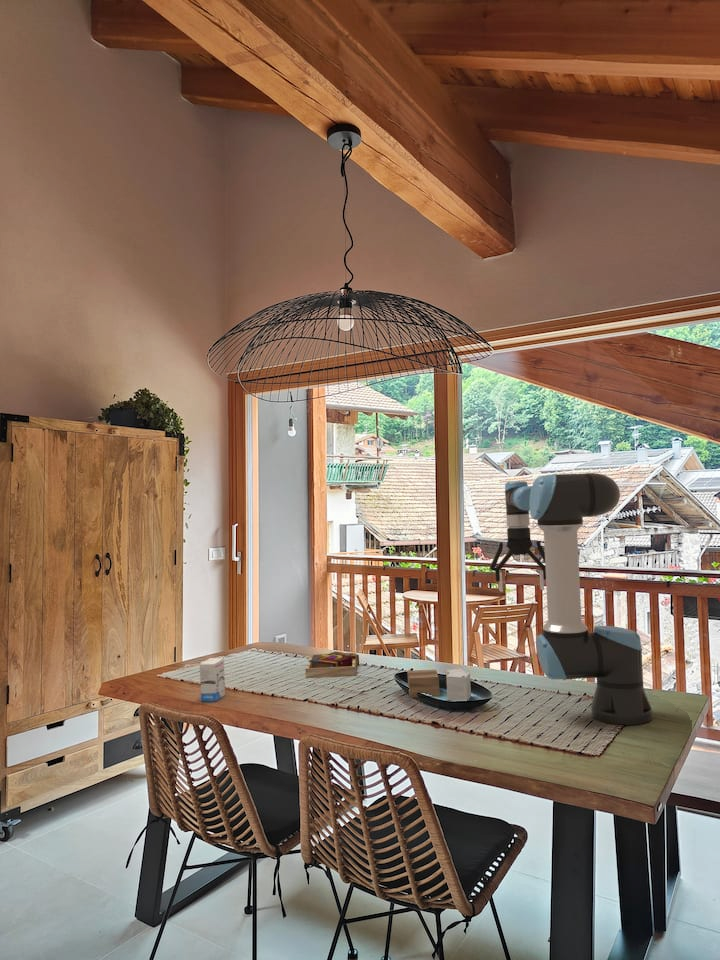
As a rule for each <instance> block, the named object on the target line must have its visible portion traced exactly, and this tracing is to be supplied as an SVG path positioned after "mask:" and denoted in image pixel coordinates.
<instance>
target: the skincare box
mask: <svg viewBox="0 0 720 960" xmlns="http://www.w3.org/2000/svg"><path fill="white" fill-rule="evenodd" d="M445 677H446V676H445ZM446 678H447V680H446V697H447V701H448V700H454V701H453V702H456V701H457V700H468V701H469V700H470V699H471V696H472V691H471V688H472V687H471V672H468V671H466V672H450V673H449V674H448V675H447V677H446ZM455 700H456V701H455Z"/></svg>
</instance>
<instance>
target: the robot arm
mask: <svg viewBox="0 0 720 960" xmlns="http://www.w3.org/2000/svg"><path fill="white" fill-rule="evenodd" d="M504 495H505V510H506V526H507V529H506V531H507V536H506V537H507V542H501V541H499V542H498V545H497V550H496V552H495V555H494V557H493V559H492V561H491V563H490V565H489V569H490V570H491V571H493V572H495V580H496V582H498V585H499V588H498V589H499V592H501V593H503V592H504V588H503V587H504V586H503V584H504V583H503V573H502V571H501V570H502V569H503V567H504V566H505V565H506V563H507V562H508V560H509V559H510V558H511V557H512V556H513V555H514V556H519V555H522V556H524V555H528V556H529V557H530V558H531V559H532V560H533V561H534V563H536V564H537V566H539V568H541V569H539V572H538V573H539V589H540V590H541V591H545V590H546V604H547V605H546V606H547V608H546V609H547V622H545V624H544V625H543V626H542V634H538V635H537V636H536V637H535V638H536V639H535V647H536V648H535V649H536V653H537V657H538V661H539V664H540V667H541V669H542V670H541V671H542V672H543V673H544V675H545V676H546V677H547V678H548V679H549V680H563V681H566V680H578V679H579V680H581V679H583V680H584V679H596V687H595V688H596V689H595V691H594V694H593V699H592V702H591V704H590V705H591V706H590V709H591V710H590V711H591V714H590V715H591V716H592V718H594V719H596V720H598V721H601V722H604V723H608V724H612V725H621V726H622V725H623V726H633V725H642V724H643V725H644V724H647V723H649V722H651V721H652V720H653V710H652V707H651V704H650V701H649V698H648V696H647V693H646V691H645V688H644V673H643V654H642V653H643V652H642V651H643V648H642V644H641V643H642V641H641V637H640V635H639V633H638V632H636V631H634V630H632V629H628V628H625V627H620V626H618V627H617V626H613V625H612V626H611V625H595V626H594V627H593V629H592V632H589V627H588V626H587V625H586V624H585V623H584V622H583V621H582V603H581V601H582V599H581V585H580V583H581V581H580V563H579V562H580V561H579V545H578V544H579V540H578V538H579V537H578V530H579V529H580V528H582V526H584V521H583V520H584V519H583V518H589V517H590V518H593V517H597V516H602V515H605V514H608V513H610V512H611V511H613V510H614V509H615V507H617V505H618V504H619V501H620V498H621V497H620V496H621V492H620V488H619V486H618V484H617V483H616V481H614V479H612V478H611V477H609V476H607V475H605V474H601V473H596V472H595V473H594V472H584V473H566V474H565V473H563V474H561V473H559V474H555V473H552V474H547V475H540V476H538V477H536V478H535V480H534V481H533V483H532V485H531V486H530V485H529V484H528V482H527V481H525V480H521V481H518V480H517V481H516V480H515V481H507V482H506V483H505V484H504ZM530 517H531V519H533V520H535V521H536V523H537V527H538V528H539V529H540V530H542V531H543V541H544V542H543V543H544V550H543V547H542V544H541V541H540V540H534V541H531V528H530V525H531V522H530ZM532 547H533V548H536V549H537V552H538V554H539V555H540V557H541V558H542V561H544V564H545V565H544V564H543V562H542V561H541V560H540V559H539V558H538V557H537V556H536V555H535V554H534V553H533V552H532V551H531V548H532ZM506 548H507V549H508V551H507V552H506V554H505V555H504V557H503V558H502V559H501V560H500V562H499V563H498V561H499V558H500V557H501V554H502V552H503V550H504V549H506ZM497 563H498V565H497ZM496 565H497V566H496ZM545 585H546V589H545Z"/></svg>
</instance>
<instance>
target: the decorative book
mask: <svg viewBox="0 0 720 960" xmlns="http://www.w3.org/2000/svg"><path fill="white" fill-rule="evenodd" d="M348 653H349V652H341V651H332V652H330V653H327V654H328V655H322V656H321V657H319V658H315V659H311V660H310V662H312V668H325V667H348V666H352V662H353V659H355V658H356V667H358V666H360V657H359V654H357V653H356V654H348Z"/></svg>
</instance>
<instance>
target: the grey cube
mask: <svg viewBox="0 0 720 960" xmlns="http://www.w3.org/2000/svg"><path fill="white" fill-rule="evenodd" d="M450 672H467V671H466V670H464V669H462V668H454V669H446V670H445V675H446V676H445V677H447V675H448V674H449V673H450ZM446 681H447V678H446Z"/></svg>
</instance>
